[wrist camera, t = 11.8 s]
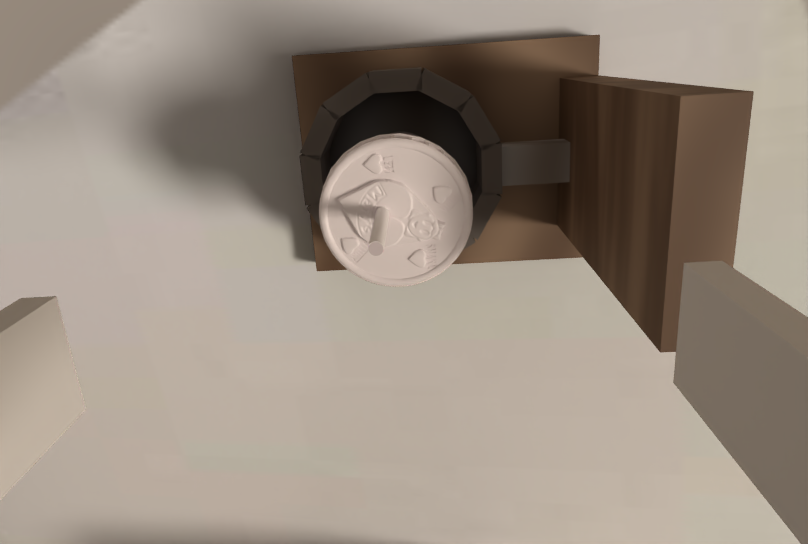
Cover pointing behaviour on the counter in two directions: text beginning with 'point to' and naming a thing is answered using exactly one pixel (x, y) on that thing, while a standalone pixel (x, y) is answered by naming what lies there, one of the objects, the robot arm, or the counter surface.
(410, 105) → the cup bracket
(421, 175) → the smoothie
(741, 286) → the robot arm
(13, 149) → the counter surface
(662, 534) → the counter surface
